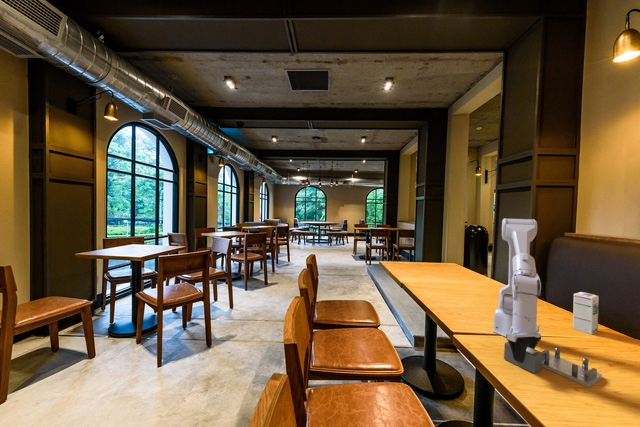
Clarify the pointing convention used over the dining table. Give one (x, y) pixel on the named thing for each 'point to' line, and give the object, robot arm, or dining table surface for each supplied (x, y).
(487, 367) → the dining table surface
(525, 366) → the block
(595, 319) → the syrup box
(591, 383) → the pin tray
